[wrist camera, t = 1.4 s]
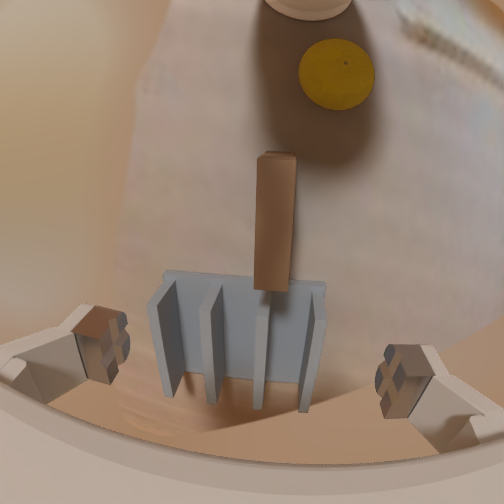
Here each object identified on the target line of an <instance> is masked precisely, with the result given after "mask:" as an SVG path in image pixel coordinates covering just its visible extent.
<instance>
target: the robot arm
mask: <svg viewBox="0 0 504 504" xmlns="http://www.w3.org/2000/svg"><path fill="white" fill-rule="evenodd" d="M127 324H128V323H127V317H126V314H125V313H124V312H121V311H117V310H113V309H109V308H105V307H101V306H96V305H92V304H87V303H82V304H81V305H80V306H79V307H78V308H77V309H76V310H75V311H74V312H73V313H72V314H71V315H70V316H69V317H68V318H67V319H66V320H65V321H64V322H63V323H62V324H61V325H60V326H59V327H58V328H55V327H52V328H49V329H46V330H43V331H40V332H37V333H35V334H32V335H29V336H25V337H23V338H20V339H17V340H14V341H11V342H8V343H5V344H2V345H0V504H504V409H503V408H502V407H500V406H499V405H497V404H496V403H494V402H493V401H491V400H490V399H488V398H487V397H485V396H484V395H482V394H481V393H479V392H478V391H476V390H475V389H473V388H472V387H470V386H469V385H467V384H466V383H464V382H462V381H461V380H460V379H459V378H457V377H455V376H454V375H449V373H448V371H447V370H446V368H445V366H444V364H443V362H442V361H441V359H440V357H439V355H438V354H437V352H436V350H435V348H434V347H433V346H432V345H431V344H416V345H407V344H389V345H388V346H387V347H386V349H385V352H384V357H385V361H384V362H382V363H381V364H380V365H379V366H378V369H377V372H376V376H375V388H376V392H377V394H378V395H380V396H381V397H382V400H381V402H380V406H381V410H382V413H383V416H384V419H396V418H397V419H398V418H408V420H409V421H410V422H411V423H412V425H413V426H414V427H415V428H416V429H417V430H418V431H419V432H420V433H421V434H422V435H423V436H424V437H425V438H426V439H427V440H428V441H429V443H431V445H432V446H433V447H434V448H435V449H436V450H437V451H438V452H439V453H440V454H436V455H431V456H425V457H418V458H411V459H404V460H395V461H385V462H374V463H360V464H289V463H273V462H261V461H252V460H243V459H235V458H228V457H221V456H215V455H209V454H203V453H198V452H192V451H188V450H183V449H178V448H174V447H169V446H165V445H161V444H157V443H153V442H150V441H146V440H142V439H139V438H135V437H132V436H128V435H125V434H122V433H118V432H116V431H112V430H109V429H106V428H104V427H101V426H98V425H95V424H92V423H90V422H87V421H84V420H81V419H79V418H77V417H74V416H72V415H69V414H67V413H64V412H62V411H59V410H57V409H55V408H52V407H50V406H48V405H46V404H48V403H50V402H51V401H53V400H55V399H56V398H58V397H60V396H61V395H63V394H65V393H67V392H68V391H70V390H71V389H73V388H75V387H76V386H78V385H80V384H82V383H83V382H85V381H87V379H91V380H94V381H97V382H101V383H105V384H108V385H111V383H112V382H113V380H114V378H115V377H116V375H117V374H118V372H119V370H118V365H120V364H122V363H124V362H125V360H126V359H127V357H128V354H129V350H130V336H129V334H128V333H127V331H126V330H125V329H124V328H125V327H126V325H127Z"/></svg>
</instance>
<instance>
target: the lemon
mask: <svg viewBox="0 0 504 504" xmlns="http://www.w3.org/2000/svg"><path fill="white" fill-rule="evenodd" d="M298 75H299V81H300V84H301V86H302V88H303V91H304V92H305V93H306V95H307V96H308V97H309V98H310V99H311V100H312V101H313V102H315V103H316V104H317V105H320V106H322V107H324V108H327V109H331V110H346V109H350V108H353V107H355V106H357V105H359V104H361V103H362V102H363V101H364V100H365V99H366V98H367V97H368V96H369V94H370V92H371V90H372V88H373V84H374V80H375V74H374V67H373V64H372V61H371V59H370V58H369V56H368V55H367V53H366V52H365V51H364V50H363V49H362V48H361V47H359V46H358V45H356V44H355V43H353V42H350V41H348V40H345V39H338V38H333V39H325V40H323V41H320V42H317V43H316V44H314V45H313V46H311V47H310V48H309V49H308V50H307V51H306V52H305V54H304V55H303V57H302V59H301V62H300V64H299V72H298Z"/></svg>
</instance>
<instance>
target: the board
mask: <svg viewBox="0 0 504 504" xmlns="http://www.w3.org/2000/svg"><path fill="white" fill-rule="evenodd" d="M295 180H296V157H295V154H294V153H289V152H269V151H266V152H265V153H264V154H262V155H261V156H260V157H259V158H257V186H256V221H255V256H254V290H267V291H281V292H288V282H289V269H290V257H291V243H292V229H293V214H294V198H295Z"/></svg>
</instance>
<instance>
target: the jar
mask: <svg viewBox="0 0 504 504" xmlns="http://www.w3.org/2000/svg"><path fill="white" fill-rule="evenodd" d="M265 1H266V2H267V3H268V4H269V5H270V6H271V7H272V8H273V9H275V10H276V11H278V12H280V13H282V14H284V15H286V16H289V17H292V18H295V19H300V20H308V21H317V20H324V19H328V18H332V17H334V16H336V15H338V14H340V13H342V12H343V11H344V10H345V9H346V8H347V7H348V6H349V4H350V3H351V1H352V0H265Z"/></svg>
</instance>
